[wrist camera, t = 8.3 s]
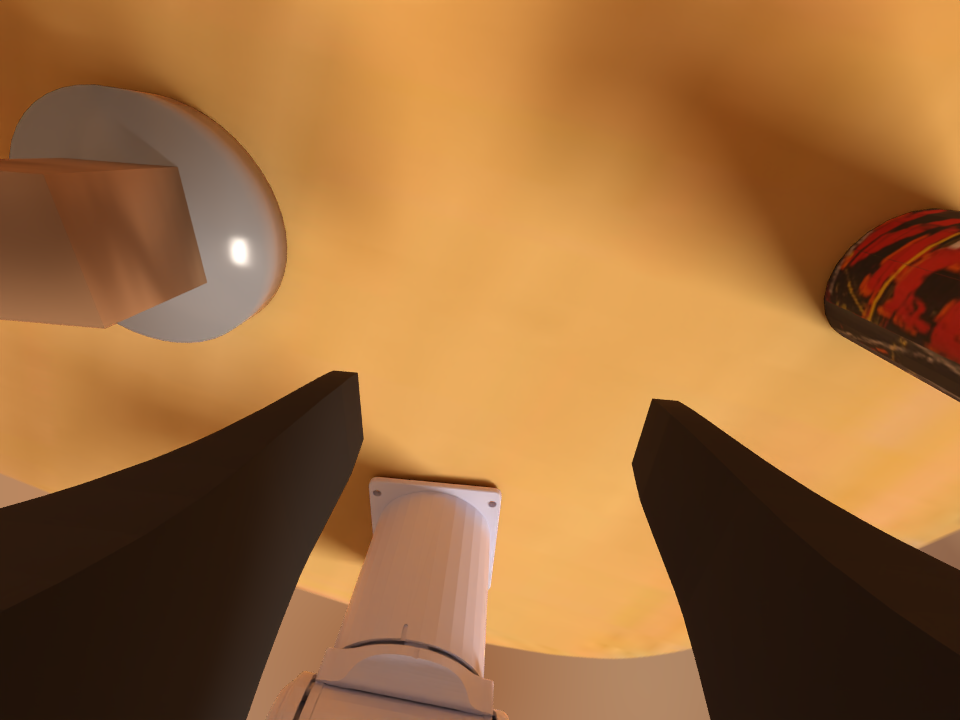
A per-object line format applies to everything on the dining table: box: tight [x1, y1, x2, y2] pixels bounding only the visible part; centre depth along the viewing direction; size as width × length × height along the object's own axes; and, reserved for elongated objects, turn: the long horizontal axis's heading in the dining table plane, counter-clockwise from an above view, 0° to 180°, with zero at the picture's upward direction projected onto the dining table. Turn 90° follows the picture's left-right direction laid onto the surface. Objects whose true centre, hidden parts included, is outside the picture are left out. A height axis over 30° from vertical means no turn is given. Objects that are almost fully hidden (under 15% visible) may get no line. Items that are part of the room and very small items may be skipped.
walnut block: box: [0, 158, 207, 329], centre depth 14 cm, size 4×4×5 cm
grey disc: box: [9, 85, 287, 343], centre depth 17 cm, size 10×10×2 cm
